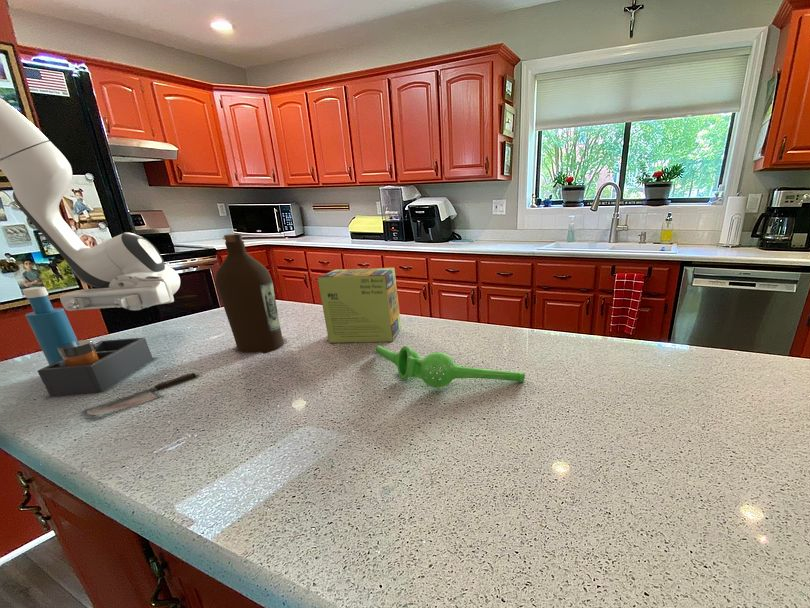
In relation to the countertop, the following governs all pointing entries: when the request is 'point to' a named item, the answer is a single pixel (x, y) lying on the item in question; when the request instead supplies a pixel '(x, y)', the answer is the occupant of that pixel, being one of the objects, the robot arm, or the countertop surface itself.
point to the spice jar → (78, 353)
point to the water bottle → (48, 323)
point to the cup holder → (97, 368)
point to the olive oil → (248, 299)
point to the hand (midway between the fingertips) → (94, 305)
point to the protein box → (360, 305)
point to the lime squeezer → (421, 368)
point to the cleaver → (140, 396)
